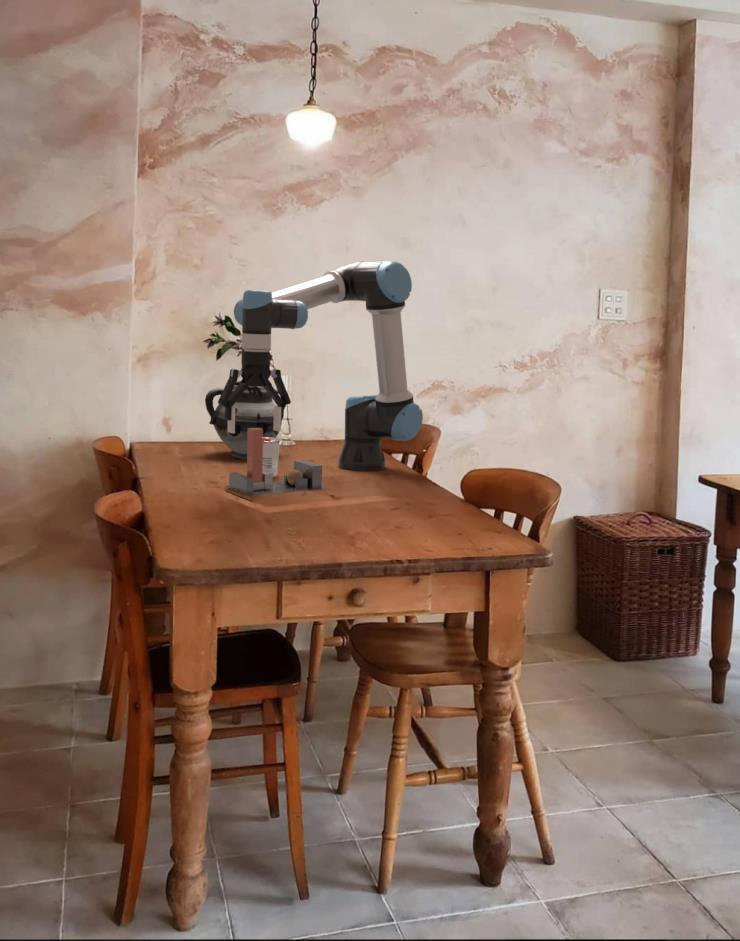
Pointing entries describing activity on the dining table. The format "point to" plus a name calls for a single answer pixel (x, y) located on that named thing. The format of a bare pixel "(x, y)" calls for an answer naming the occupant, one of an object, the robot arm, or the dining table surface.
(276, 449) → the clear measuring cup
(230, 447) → the ceramic pot
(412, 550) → the dining table surface
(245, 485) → the press base
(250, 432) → the ram handle
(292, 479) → the walnut
